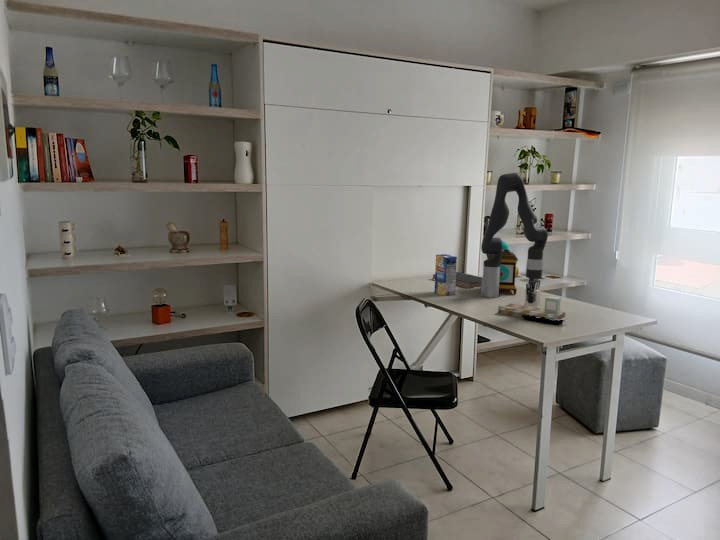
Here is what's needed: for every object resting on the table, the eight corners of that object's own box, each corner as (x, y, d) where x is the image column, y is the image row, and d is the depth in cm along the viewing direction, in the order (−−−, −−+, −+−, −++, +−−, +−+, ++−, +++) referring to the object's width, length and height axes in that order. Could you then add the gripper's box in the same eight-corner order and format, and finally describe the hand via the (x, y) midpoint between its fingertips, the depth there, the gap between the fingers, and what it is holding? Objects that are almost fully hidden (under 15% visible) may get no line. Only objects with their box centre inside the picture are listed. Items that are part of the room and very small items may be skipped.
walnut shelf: (497, 313, 277) (498, 306, 277) (510, 307, 290) (510, 300, 290) (554, 322, 261) (555, 315, 260) (565, 315, 274) (565, 308, 273)
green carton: (544, 313, 269) (545, 297, 268) (547, 312, 273) (548, 296, 271) (556, 315, 266) (558, 299, 265) (559, 314, 269) (560, 297, 268)
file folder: (432, 274, 361) (459, 271, 375) (432, 280, 362) (458, 277, 375) (469, 282, 334) (496, 279, 348) (468, 289, 335) (496, 285, 349)
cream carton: (524, 305, 275) (525, 289, 273) (527, 303, 278) (528, 288, 277) (536, 307, 271) (537, 291, 270) (539, 305, 275) (540, 289, 273)
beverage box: (445, 296, 314) (446, 257, 310) (434, 292, 324) (435, 254, 320) (455, 295, 317) (456, 256, 313) (444, 291, 327) (445, 254, 323)
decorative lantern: (482, 293, 321) (485, 242, 316) (481, 287, 340) (484, 238, 335) (518, 295, 317) (522, 243, 312) (515, 288, 337) (518, 239, 331)
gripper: (536, 270, 264) (534, 306, 267) (546, 266, 275) (544, 300, 278) (521, 269, 268) (519, 303, 271) (531, 265, 279) (529, 298, 282)
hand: (532, 302), depth 274 cm, fingers closed on cream carton, 4 cm apart
